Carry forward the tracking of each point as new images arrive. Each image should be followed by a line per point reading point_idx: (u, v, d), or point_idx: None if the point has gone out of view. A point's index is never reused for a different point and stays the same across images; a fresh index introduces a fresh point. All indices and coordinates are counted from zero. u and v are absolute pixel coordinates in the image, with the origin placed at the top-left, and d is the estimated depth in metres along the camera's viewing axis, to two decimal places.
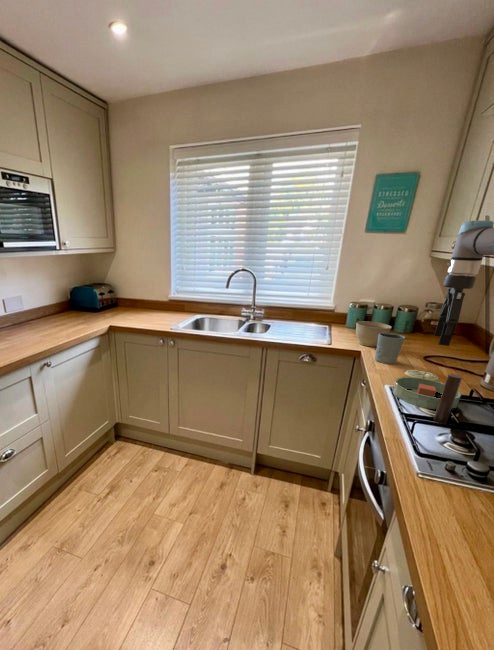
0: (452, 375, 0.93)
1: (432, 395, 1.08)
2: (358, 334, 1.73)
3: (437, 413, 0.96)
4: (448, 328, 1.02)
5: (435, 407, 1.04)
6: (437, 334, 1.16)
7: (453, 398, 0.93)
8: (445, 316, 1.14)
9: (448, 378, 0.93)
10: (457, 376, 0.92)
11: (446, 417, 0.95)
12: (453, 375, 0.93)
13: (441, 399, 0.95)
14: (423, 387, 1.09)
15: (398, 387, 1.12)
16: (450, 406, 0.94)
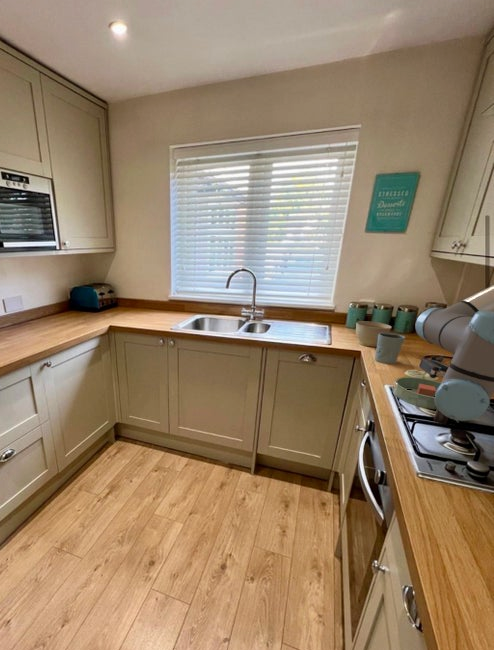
0: None
1: (432, 395, 1.08)
2: (358, 334, 1.73)
3: (437, 413, 0.96)
4: None
5: (435, 407, 1.04)
6: None
7: None
8: None
9: None
10: None
11: (446, 417, 0.95)
12: None
13: None
14: (423, 387, 1.09)
15: (398, 387, 1.12)
16: None
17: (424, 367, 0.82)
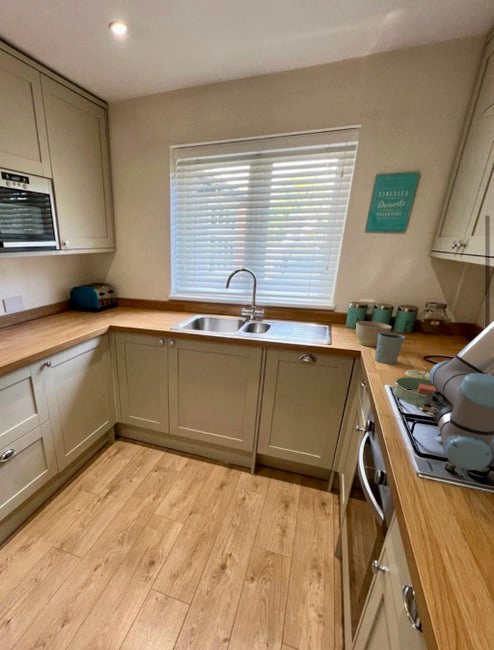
0: None
1: None
2: (358, 334, 1.73)
3: None
4: None
5: (435, 407, 1.04)
6: None
7: None
8: None
9: None
10: None
11: None
12: None
13: None
14: (423, 387, 1.09)
15: (398, 387, 1.12)
16: None
17: (425, 401, 0.93)
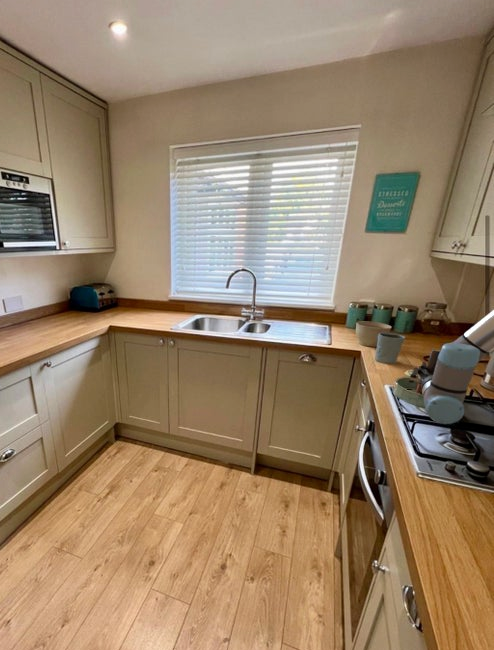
0: (435, 350, 1.06)
1: None
2: (358, 334, 1.73)
3: None
4: None
5: None
6: None
7: None
8: None
9: (432, 352, 1.06)
10: (439, 351, 1.06)
11: None
12: (436, 350, 1.06)
13: None
14: None
15: (398, 387, 1.12)
16: None
17: None
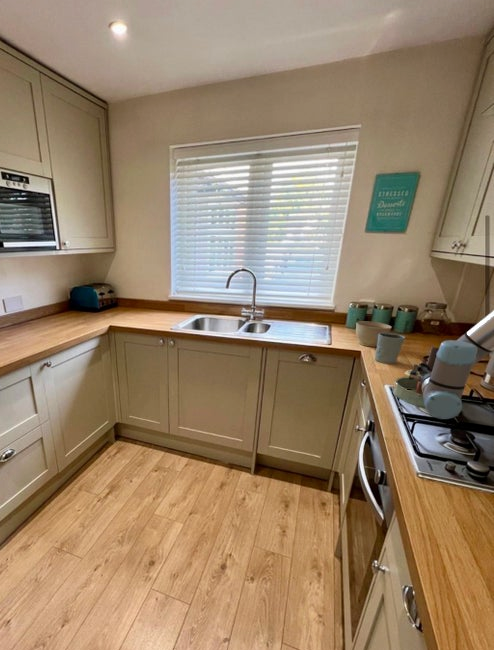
0: None
1: None
2: (358, 334, 1.73)
3: None
4: None
5: None
6: None
7: None
8: None
9: (431, 349, 1.09)
10: None
11: None
12: None
13: None
14: None
15: (398, 387, 1.12)
16: None
17: None
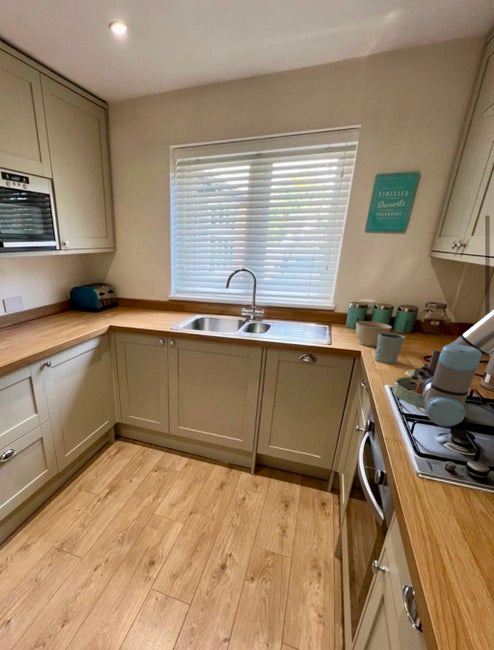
0: (436, 351, 1.06)
1: None
2: (358, 334, 1.73)
3: None
4: None
5: None
6: None
7: None
8: None
9: (433, 353, 1.06)
10: None
11: None
12: (437, 351, 1.06)
13: None
14: None
15: (398, 387, 1.12)
16: None
17: None
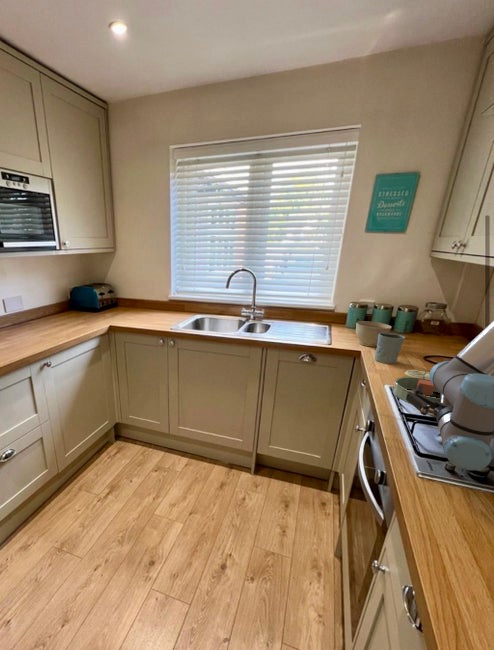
0: None
1: (431, 390, 1.12)
2: (358, 334, 1.73)
3: None
4: None
5: None
6: None
7: None
8: None
9: None
10: None
11: None
12: None
13: (443, 399, 0.99)
14: (423, 383, 1.13)
15: (398, 387, 1.12)
16: (452, 405, 0.98)
17: (412, 402, 0.93)
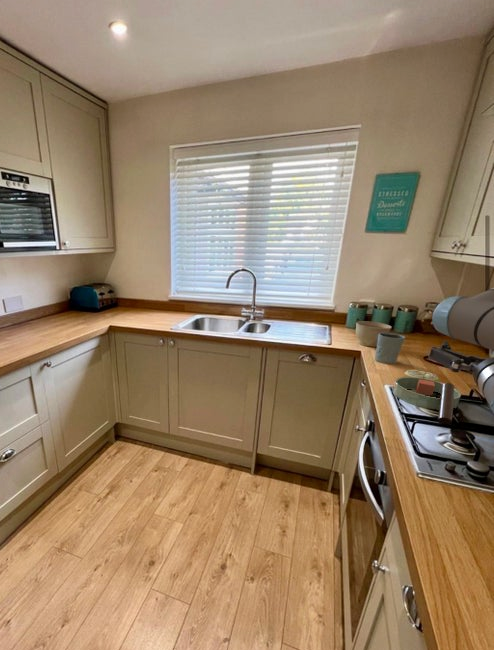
0: None
1: (431, 390, 1.12)
2: (358, 334, 1.73)
3: (444, 409, 0.97)
4: None
5: (435, 407, 1.04)
6: None
7: (453, 400, 0.99)
8: None
9: (445, 384, 1.03)
10: None
11: None
12: None
13: (444, 399, 0.99)
14: (423, 383, 1.13)
15: (398, 387, 1.12)
16: (452, 406, 0.98)
17: (438, 358, 0.72)
